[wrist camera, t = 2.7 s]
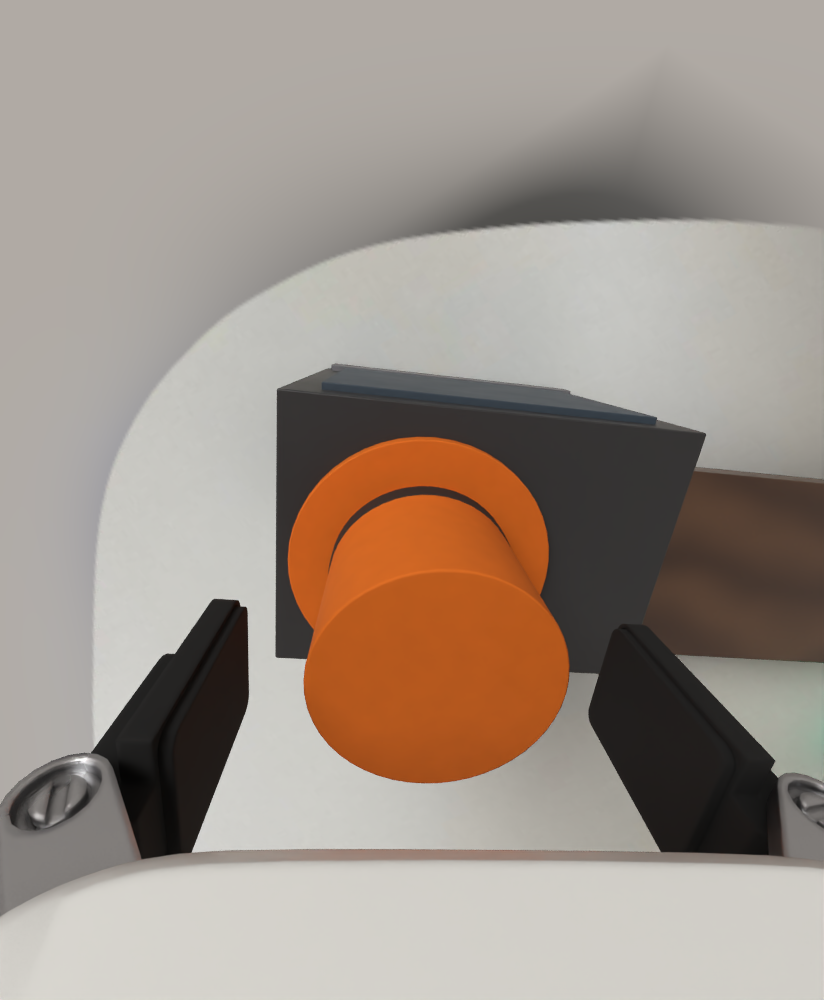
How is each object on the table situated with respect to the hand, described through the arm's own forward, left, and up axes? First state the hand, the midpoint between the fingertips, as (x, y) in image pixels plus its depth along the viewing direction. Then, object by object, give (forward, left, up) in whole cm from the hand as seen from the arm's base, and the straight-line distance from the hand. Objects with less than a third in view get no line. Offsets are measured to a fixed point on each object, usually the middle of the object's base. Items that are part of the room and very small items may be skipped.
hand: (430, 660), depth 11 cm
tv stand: (+3, +23, -17) cm, 29 cm away
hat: (0, 0, -5) cm, 5 cm away
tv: (-1, +2, -17) cm, 17 cm away
